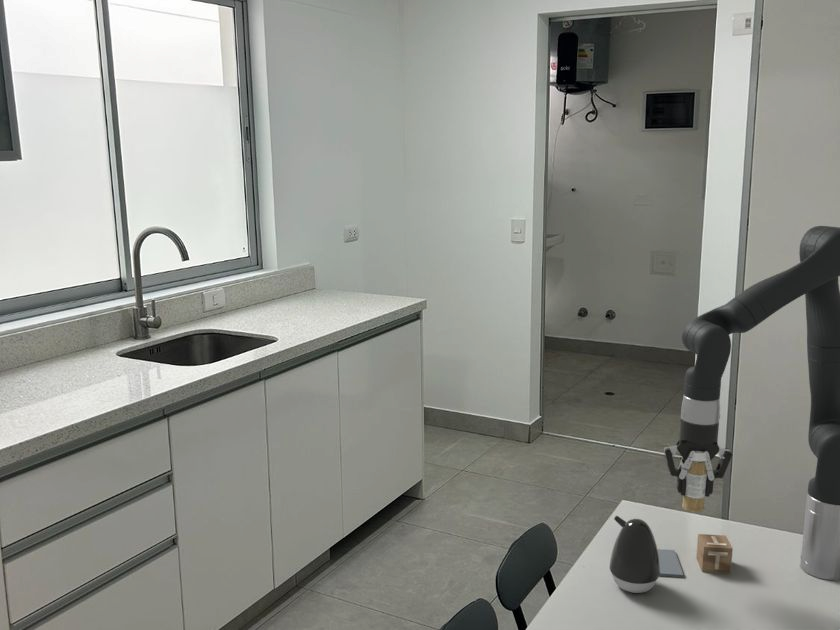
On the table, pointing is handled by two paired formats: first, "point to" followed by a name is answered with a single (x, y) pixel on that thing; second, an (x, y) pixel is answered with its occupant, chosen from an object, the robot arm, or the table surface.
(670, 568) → the blue-grey square plate
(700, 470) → the sprinkles bottle
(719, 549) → the walnut letter cube
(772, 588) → the table surface
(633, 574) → the pump dispenser
